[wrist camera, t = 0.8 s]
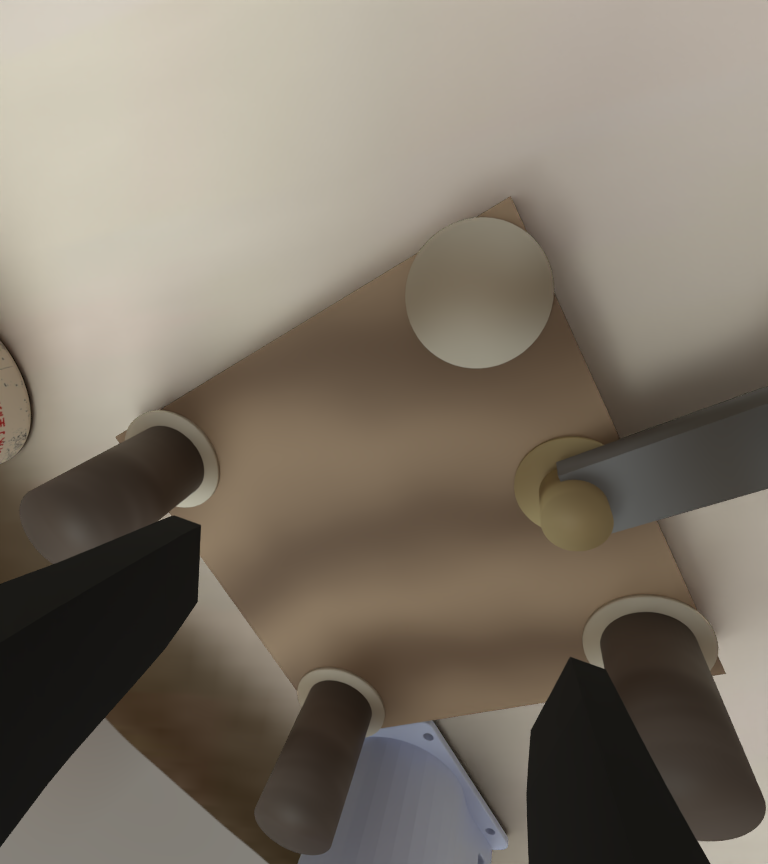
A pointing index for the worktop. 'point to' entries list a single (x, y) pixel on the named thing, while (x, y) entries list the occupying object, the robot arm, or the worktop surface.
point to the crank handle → (658, 473)
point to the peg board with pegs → (417, 528)
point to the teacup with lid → (12, 407)
